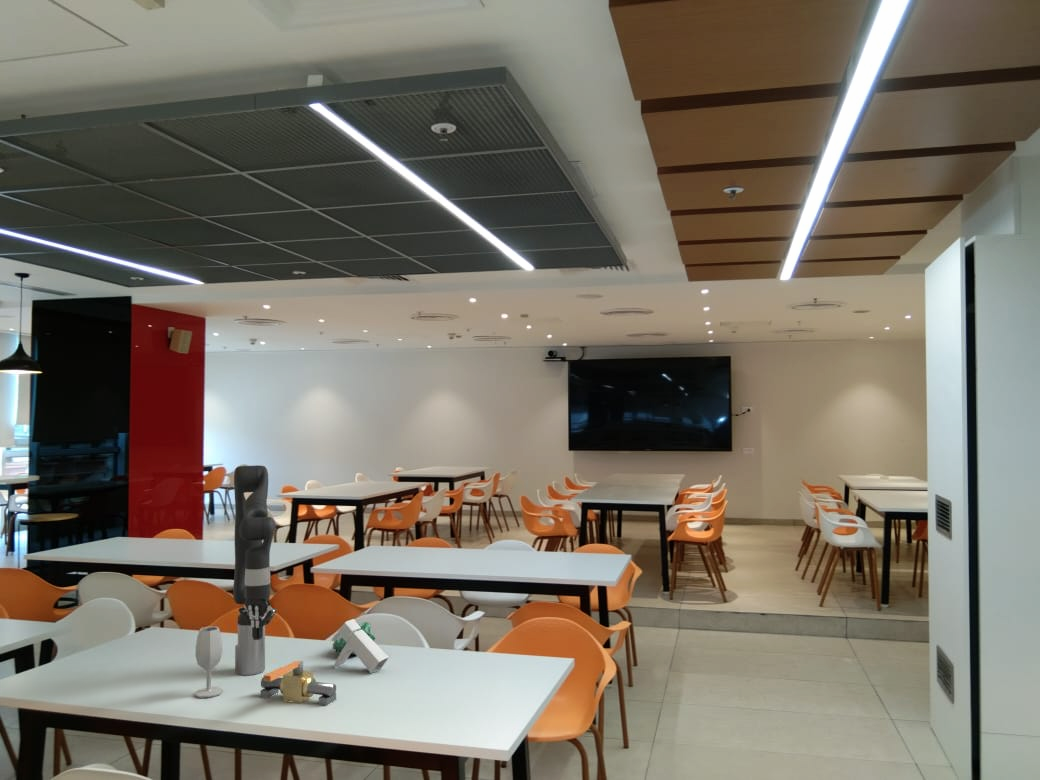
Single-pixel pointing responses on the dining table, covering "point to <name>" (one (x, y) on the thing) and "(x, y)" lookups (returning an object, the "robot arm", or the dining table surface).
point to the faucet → (359, 647)
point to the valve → (299, 688)
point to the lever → (285, 670)
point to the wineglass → (208, 657)
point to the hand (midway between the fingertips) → (257, 639)
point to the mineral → (341, 642)
